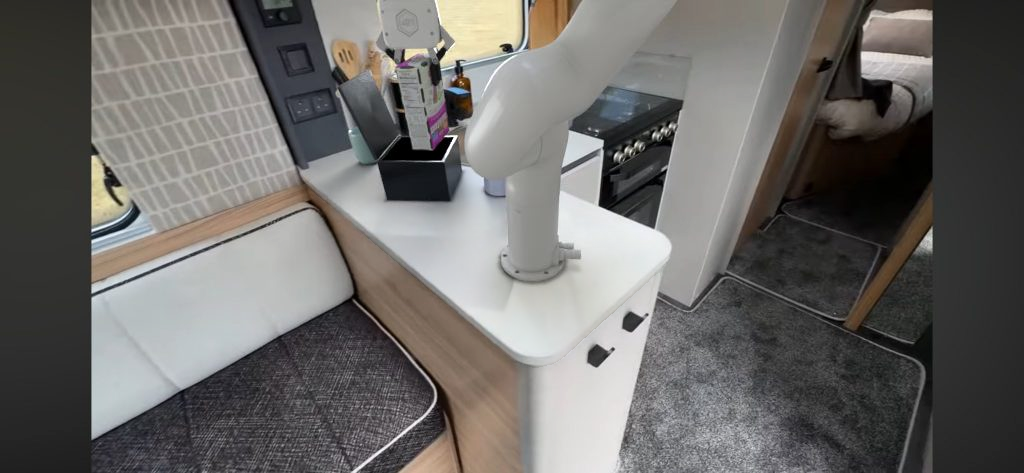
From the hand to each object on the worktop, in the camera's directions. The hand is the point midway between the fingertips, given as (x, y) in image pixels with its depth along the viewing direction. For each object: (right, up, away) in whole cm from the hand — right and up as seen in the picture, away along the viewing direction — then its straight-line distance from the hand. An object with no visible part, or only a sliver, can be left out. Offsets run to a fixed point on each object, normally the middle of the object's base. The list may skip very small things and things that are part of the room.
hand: (421, 83), depth 75 cm
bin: (-5, -16, +28) cm, 33 cm away
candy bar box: (0, -10, +7) cm, 12 cm away
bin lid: (-16, 0, +17) cm, 23 cm away
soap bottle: (+15, -18, +25) cm, 34 cm away
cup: (-26, -7, +42) cm, 50 cm away
